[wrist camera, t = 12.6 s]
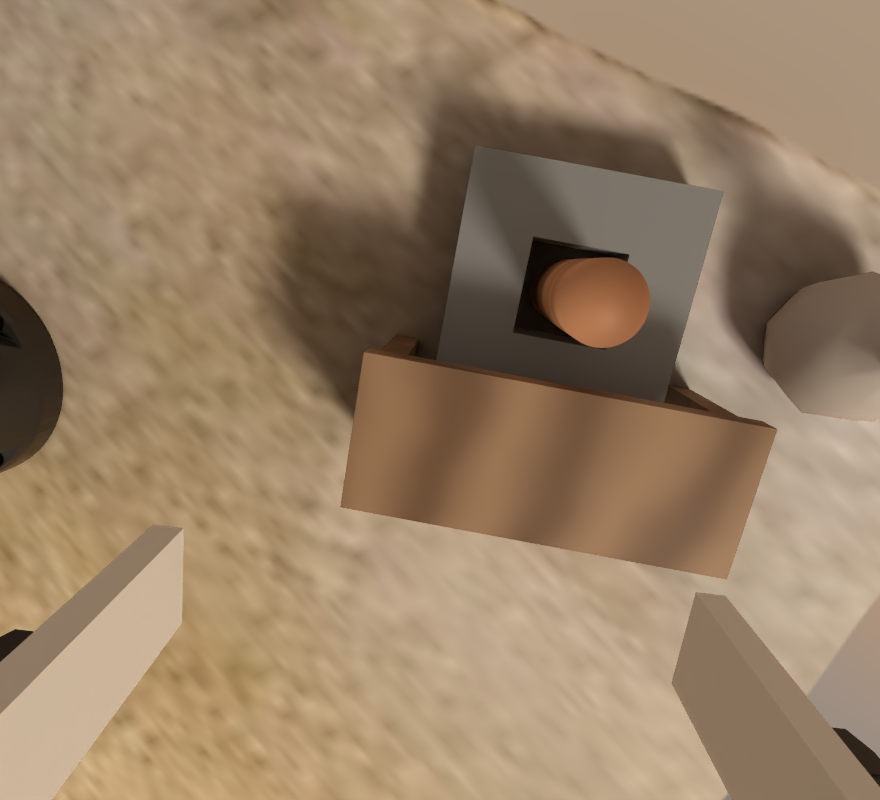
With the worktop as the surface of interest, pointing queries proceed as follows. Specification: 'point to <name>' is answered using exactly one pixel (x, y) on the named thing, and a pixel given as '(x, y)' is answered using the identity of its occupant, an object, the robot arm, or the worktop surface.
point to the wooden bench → (553, 461)
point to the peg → (592, 299)
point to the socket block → (581, 227)
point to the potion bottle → (829, 348)
